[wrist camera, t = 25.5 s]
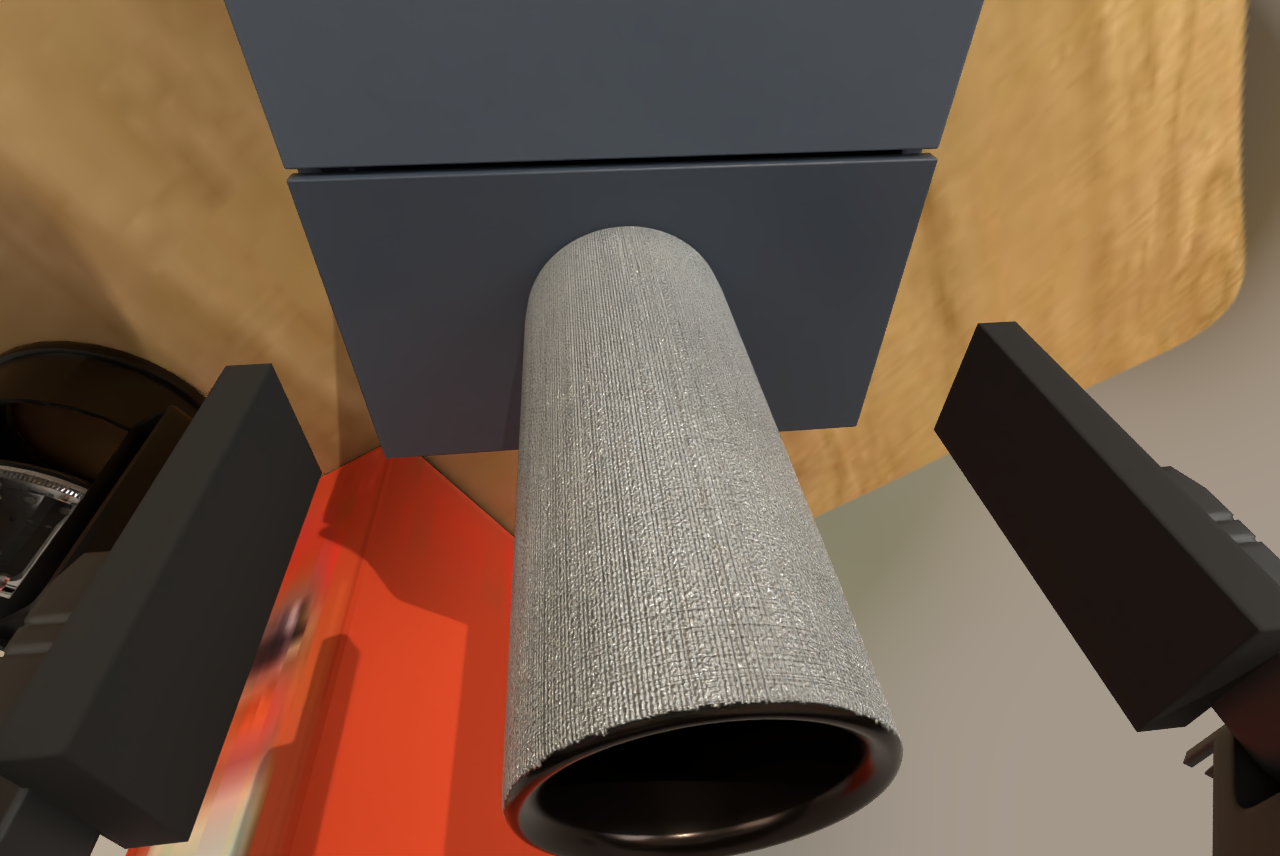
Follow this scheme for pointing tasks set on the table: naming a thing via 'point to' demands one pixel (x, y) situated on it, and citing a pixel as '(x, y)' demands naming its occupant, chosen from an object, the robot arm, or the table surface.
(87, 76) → the table surface
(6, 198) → the table surface
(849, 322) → the carton
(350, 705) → the file binder
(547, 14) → the flap
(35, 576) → the french press
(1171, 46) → the table surface
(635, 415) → the gray hollow cylinder
